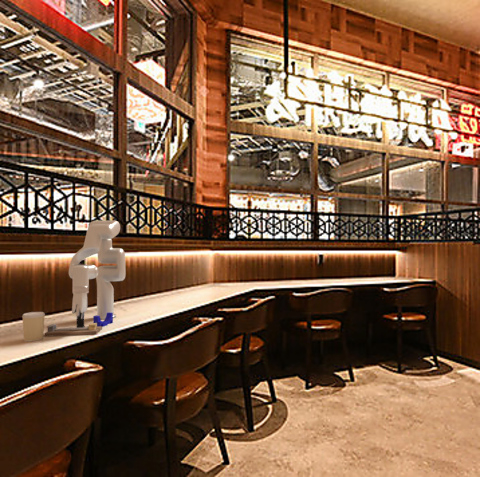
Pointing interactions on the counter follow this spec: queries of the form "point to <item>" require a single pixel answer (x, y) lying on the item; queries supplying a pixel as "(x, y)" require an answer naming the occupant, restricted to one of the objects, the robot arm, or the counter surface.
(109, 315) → the cable clip
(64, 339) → the counter surface
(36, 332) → the coffee cup
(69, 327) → the strap
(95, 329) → the board
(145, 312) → the counter surface
